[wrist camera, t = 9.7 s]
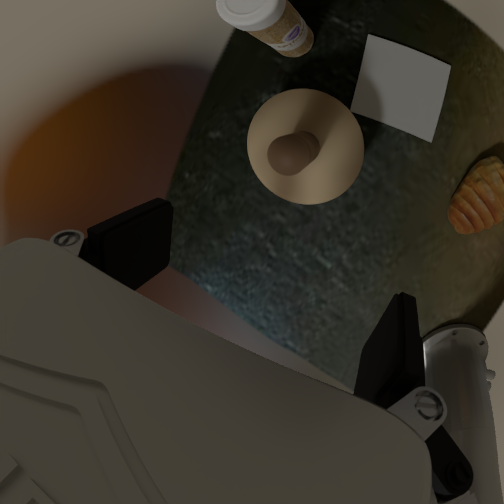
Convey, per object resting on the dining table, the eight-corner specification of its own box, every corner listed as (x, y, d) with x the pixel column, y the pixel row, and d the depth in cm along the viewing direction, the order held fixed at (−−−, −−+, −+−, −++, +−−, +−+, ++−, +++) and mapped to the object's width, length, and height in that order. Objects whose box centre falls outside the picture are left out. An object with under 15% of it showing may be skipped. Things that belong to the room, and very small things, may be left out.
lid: (377, 109, 22) (382, 107, 16) (344, 217, 28) (336, 246, 22) (262, 78, 24) (232, 70, 19) (241, 182, 30) (209, 201, 25)
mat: (449, 66, 20) (450, 65, 20) (430, 142, 24) (431, 142, 24) (368, 35, 22) (368, 34, 21) (350, 111, 26) (349, 111, 26)
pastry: (464, 243, 27) (473, 257, 24) (433, 199, 27) (440, 209, 24) (517, 194, 22) (531, 203, 19) (488, 146, 22) (501, 150, 19)
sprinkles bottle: (304, 64, 26) (261, 32, 15) (266, 49, 26) (203, 17, 15) (321, 29, 23) (289, -22, 12) (282, 15, 24) (228, -33, 13)
